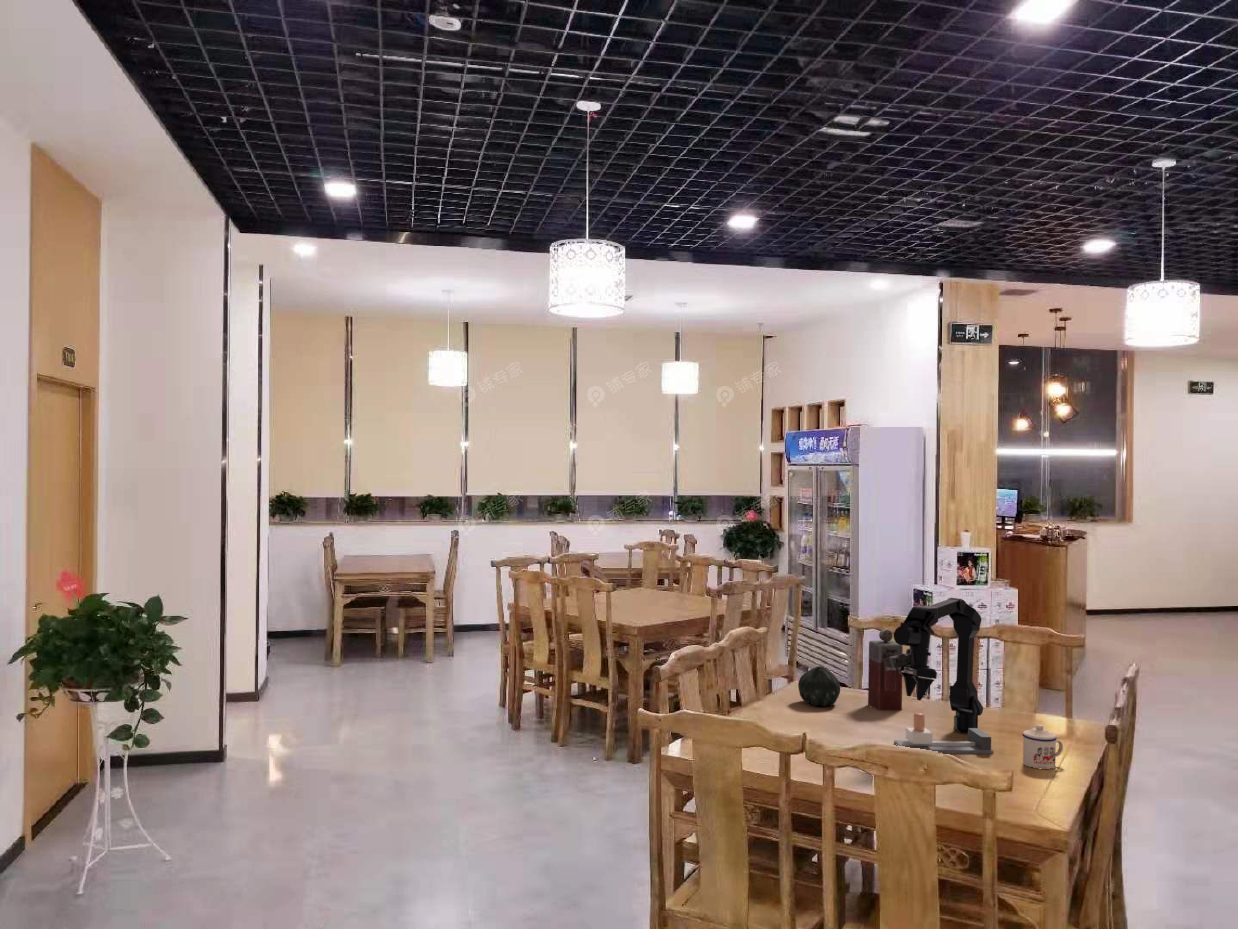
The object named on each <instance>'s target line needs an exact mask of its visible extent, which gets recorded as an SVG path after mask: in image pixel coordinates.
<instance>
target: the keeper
mask: <svg viewBox="0 0 1238 929" xmlns="http://www.w3.org/2000/svg"><path fill="white" fill-rule="evenodd" d="M925 718H926V716H925V713H923V712H913V727H905V739H906V740H909V741H910V742H911V743H912V744H932V741H933V732H932V731H930V730H929V729H927V728H926V727H925V726H926V724H925V723H926V722H925V720H926V719H925Z"/></svg>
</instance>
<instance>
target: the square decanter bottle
mask: <svg viewBox="0 0 1238 929" xmlns="http://www.w3.org/2000/svg"><path fill="white" fill-rule="evenodd" d="M878 633H879V635H878V637H879V639H880V640H870V641H868V683H867V684H868V686H867V688H868V689H867V696H868V697H867V704H868V706H869V705H870V706H869V707H871V706H872V708H873V709H875V710H876V711H880V712H881V711H885V712H886V711H902V710H903V703H902V702H903V676H902V675H901V674H900V673H899V672H901V671H900V670H898V668H894V667H891V663H890V659H889V657H891V656H895V655H898V654H902V653H903V654H904V647H903V646H904V645H899V644H897V643H896V642H895V640H892V639H893V637H894V634H893V633H892V631H891V630H889V629H887V628H884V629H881V630H880V631H879V632H878Z"/></svg>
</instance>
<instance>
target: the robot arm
mask: <svg viewBox="0 0 1238 929" xmlns="http://www.w3.org/2000/svg"><path fill="white" fill-rule="evenodd" d="M947 616H949V617H950V619H951V620H952V623H953V624H952V628H953V629H954V632H955V633H956V635H957V656H956V660H957V661H956V679H955V680H956V681H955V682H954V683H953V684H952V685H950V686H949V696H948V699H949V703H950V709H951V711H953V712H955V715H953V729H954V730H956V731H957V732H958V733H960V734H968V728H978V729H979V727H978V726H979V716H981V715H982V714H983V711H984V707H983V704H982V703H981V702H980V700H979V698H978V690H977V688H976V687H975V684H974V682H973V678H974V677H973V676H974V675H973V674H974V671H973V670H974V655H975V654H974V652H975V651H974V648H975V638H976V636H977V635H978V633H979V632H980V628H981V623H982V616H981V614H979V611H977V610H976V609H975V608H974V607H972V606H971V605H970V604H968V603H967V602H966V601H965V600H964V599H963V598H956V597H949V598H947V599H945V600H943V601H939V602H937V603H934V604H931V605H914V606H912V608H911V609H910V611H909V612H908V614H907V615H906V618H905V620H903V622H900V625H899V626H898V627H896V628H895V630H894V632H893V641H894V642H896V643H897V644H899V645H902V646H904V647H909V648H907V649H906V651H905V653H904V652H903V653H902V654H898V655H895V656H891V657H889V659H890V663H891V667H894V668H898V670H900V671H901V672H899V673H900V674H901V675H902V678H903V679H904V680H903V681H904V685H905V686H904V687H905V693H906V696H907V697H911V696H912V694H913V692H914V690H915V688H916V700H917V701H921V700H922V699H923V698H924V696H925V694H926V692H928V689H929V688H930V687H931V686H932V683H933V682H935V680H937V677H938V671H936V669H934V668H932V667H930V665H928V660H929V657H930V656H931V653H932V652H929V651H930V642H931V635H935V631H934V630H933V629H932V627H933V626H935V625H936V624H937V623H939V619H942V618H944V617H947Z"/></svg>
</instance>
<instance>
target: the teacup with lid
mask: <svg viewBox="0 0 1238 929" xmlns="http://www.w3.org/2000/svg"><path fill="white" fill-rule="evenodd" d="M1022 736H1023V737H1022V740H1023V741H1022V744H1023V745H1022V763H1023V764H1024V765H1025V766H1026V767H1029V768H1031V767H1033V768H1032V769H1035V768H1041V769H1040V770H1042V769H1049V770H1051V769H1050V768H1053V769H1055V768H1056V757H1059V756H1060V755H1061V754H1062V752H1063V751H1064V750H1063V749H1064V744H1063V742H1062V741H1061V740H1059V739H1058V738H1057V736H1056V734H1054V733H1052V732H1050V731H1049V730H1048V729H1046V728H1044V725H1042V724H1036V725H1035V727H1032V728H1030V729H1026V730H1024V731H1023V732H1022ZM1056 743H1058V750H1057V749H1056V748H1057V746H1056ZM1056 750H1057V751H1056ZM1054 767H1055V768H1054Z"/></svg>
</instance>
